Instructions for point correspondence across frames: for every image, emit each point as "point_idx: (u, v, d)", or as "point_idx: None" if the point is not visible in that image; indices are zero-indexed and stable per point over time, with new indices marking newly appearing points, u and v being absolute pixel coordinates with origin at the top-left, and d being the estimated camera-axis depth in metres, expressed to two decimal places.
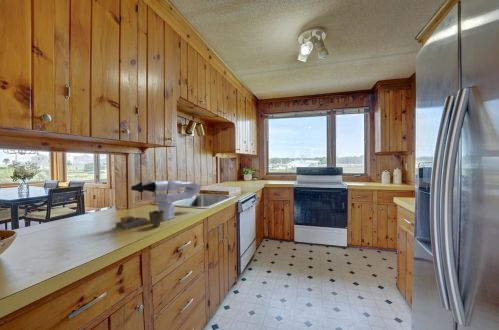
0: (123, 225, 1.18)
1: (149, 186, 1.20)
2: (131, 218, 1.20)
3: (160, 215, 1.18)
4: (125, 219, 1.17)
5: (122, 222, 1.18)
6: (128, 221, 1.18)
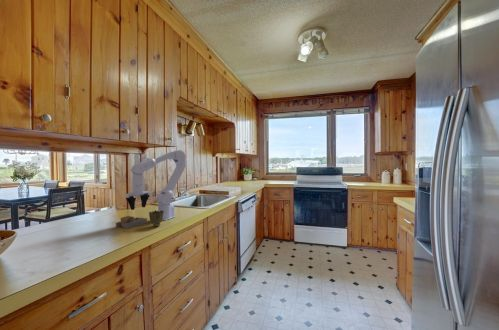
0: (123, 225, 1.18)
1: (130, 201, 1.23)
2: (131, 218, 1.20)
3: (160, 215, 1.18)
4: (125, 219, 1.17)
5: (122, 222, 1.18)
6: (128, 221, 1.18)
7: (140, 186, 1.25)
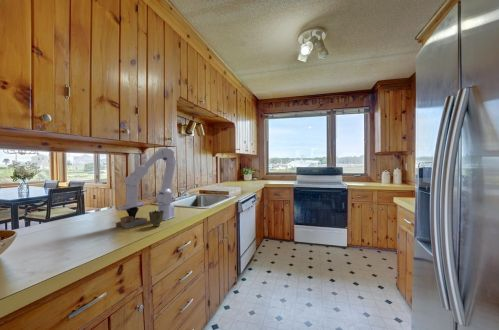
0: (123, 225, 1.18)
1: (130, 213, 1.23)
2: (131, 218, 1.20)
3: (160, 215, 1.18)
4: (125, 219, 1.17)
5: (121, 222, 1.18)
6: (128, 221, 1.18)
7: (134, 198, 1.21)
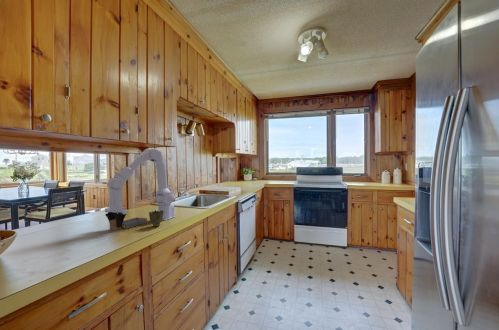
0: (112, 228, 1.12)
1: (119, 218, 1.12)
2: None
3: (160, 215, 1.18)
4: (114, 222, 1.12)
5: (111, 225, 1.13)
6: None
7: None
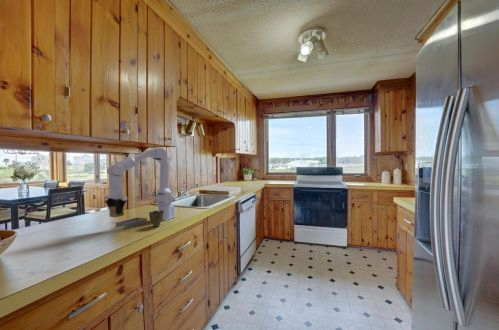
0: (112, 214, 1.12)
1: (119, 205, 1.12)
2: None
3: (160, 215, 1.18)
4: (114, 208, 1.12)
5: (110, 212, 1.13)
6: None
7: None
